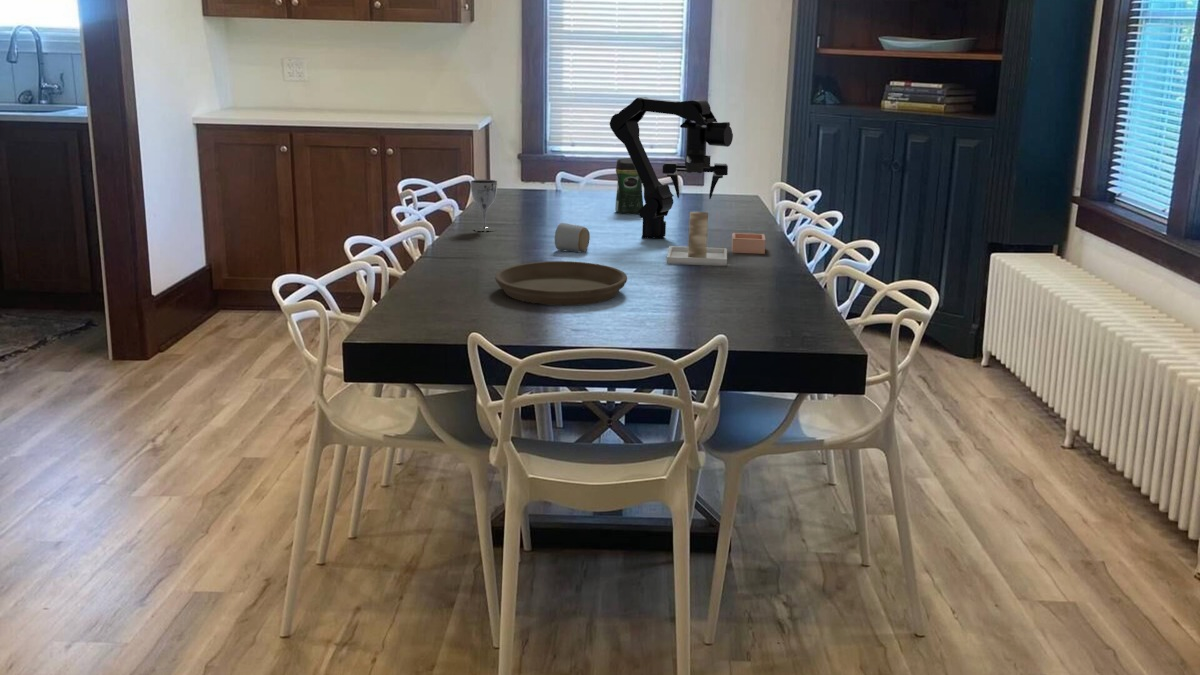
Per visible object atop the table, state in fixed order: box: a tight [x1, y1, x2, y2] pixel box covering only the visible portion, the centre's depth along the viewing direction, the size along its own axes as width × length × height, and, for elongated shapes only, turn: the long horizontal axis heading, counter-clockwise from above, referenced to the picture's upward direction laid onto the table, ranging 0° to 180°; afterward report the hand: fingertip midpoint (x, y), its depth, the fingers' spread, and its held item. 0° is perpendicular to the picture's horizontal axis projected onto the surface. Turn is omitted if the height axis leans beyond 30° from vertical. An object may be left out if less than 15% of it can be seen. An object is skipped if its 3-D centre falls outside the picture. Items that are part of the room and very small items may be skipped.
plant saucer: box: [494, 260, 628, 306], centre depth 260 cm, size 31×31×5 cm
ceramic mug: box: [554, 222, 591, 253], centre depth 311 cm, size 11×8×8 cm
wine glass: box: [470, 179, 498, 229], centre depth 338 cm, size 8×8×15 cm
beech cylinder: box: [687, 211, 709, 258], centre depth 300 cm, size 5×5×12 cm
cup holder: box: [731, 232, 766, 255], centre depth 313 cm, size 9×9×4 cm
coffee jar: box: [615, 157, 644, 215], centre depth 376 cm, size 10×8×19 cm
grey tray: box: [666, 245, 728, 267], centre depth 302 cm, size 16×16×2 cm
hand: (694, 198), depth 323 cm, fingers open, 9 cm apart
